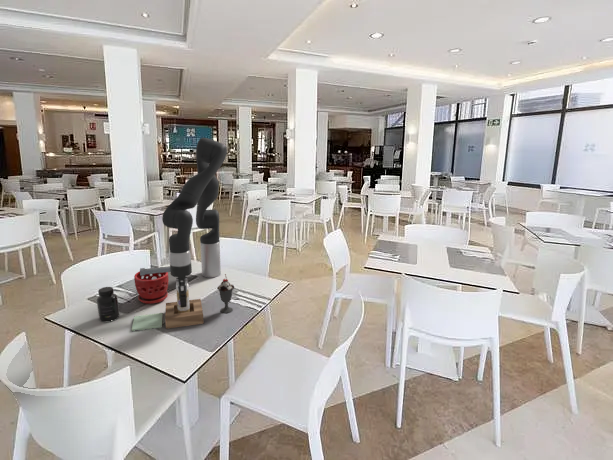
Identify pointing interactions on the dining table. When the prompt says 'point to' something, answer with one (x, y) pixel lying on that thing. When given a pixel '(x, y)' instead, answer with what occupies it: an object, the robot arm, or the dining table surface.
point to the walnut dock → (183, 315)
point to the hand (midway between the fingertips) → (183, 303)
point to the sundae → (226, 294)
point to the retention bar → (154, 270)
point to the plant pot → (151, 287)
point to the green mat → (147, 321)
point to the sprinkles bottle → (187, 308)
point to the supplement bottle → (107, 304)
